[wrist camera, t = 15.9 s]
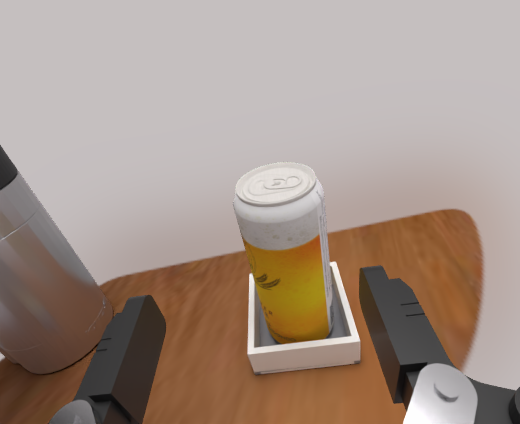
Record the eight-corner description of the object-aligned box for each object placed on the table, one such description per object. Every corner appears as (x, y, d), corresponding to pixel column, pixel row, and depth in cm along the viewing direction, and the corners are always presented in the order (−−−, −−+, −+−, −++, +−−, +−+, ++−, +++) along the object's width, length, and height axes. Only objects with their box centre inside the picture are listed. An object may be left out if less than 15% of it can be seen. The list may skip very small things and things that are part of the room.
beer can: (270, 297, 31) (237, 164, 23) (332, 295, 30) (320, 155, 22) (264, 353, 27) (220, 211, 18) (337, 354, 25) (324, 202, 17)
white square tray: (255, 374, 26) (247, 354, 24) (255, 293, 33) (249, 273, 31) (360, 363, 25) (360, 341, 23) (337, 282, 32) (335, 261, 30)
